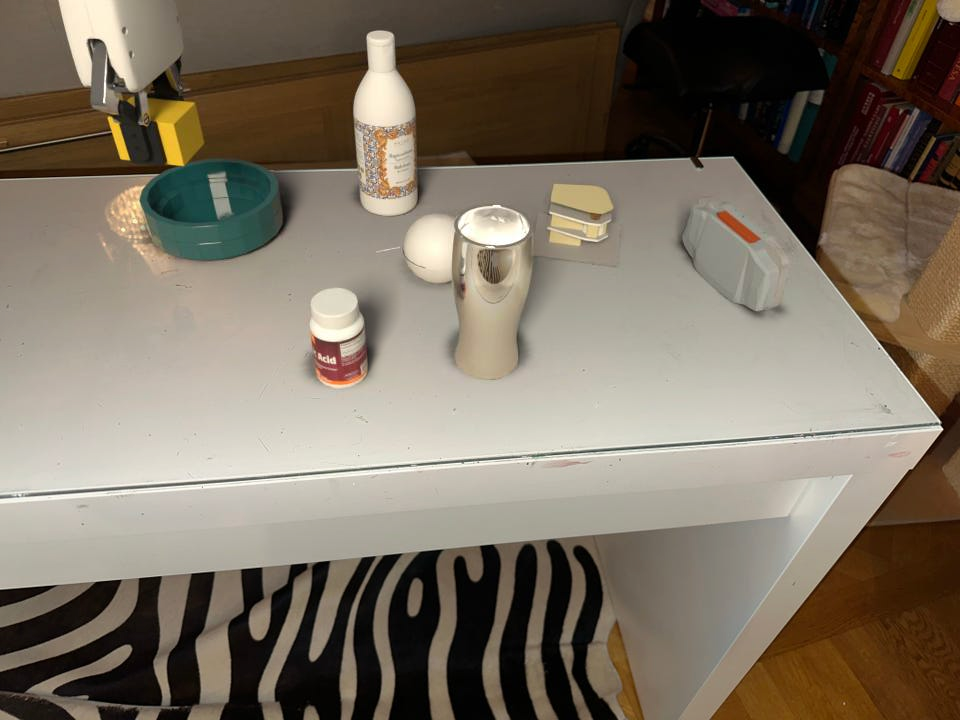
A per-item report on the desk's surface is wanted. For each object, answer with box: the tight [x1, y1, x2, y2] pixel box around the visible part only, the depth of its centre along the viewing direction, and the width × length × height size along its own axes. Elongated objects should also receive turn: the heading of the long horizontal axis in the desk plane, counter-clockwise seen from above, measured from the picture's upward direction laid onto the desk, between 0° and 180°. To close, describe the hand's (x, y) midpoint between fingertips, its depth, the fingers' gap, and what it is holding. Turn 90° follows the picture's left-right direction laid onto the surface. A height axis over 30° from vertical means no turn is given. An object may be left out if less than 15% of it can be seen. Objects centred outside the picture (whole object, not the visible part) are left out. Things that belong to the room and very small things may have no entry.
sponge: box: [107, 95, 205, 166], centre depth 67 cm, size 6×4×4 cm
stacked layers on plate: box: [533, 183, 622, 268], centre depth 85 cm, size 10×9×6 cm
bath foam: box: [352, 30, 419, 217], centre depth 85 cm, size 7×7×20 cm
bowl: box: [139, 157, 284, 262], centre depth 85 cm, size 15×15×5 cm
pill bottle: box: [308, 287, 369, 389], centre depth 67 cm, size 5×5×8 cm
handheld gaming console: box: [681, 195, 791, 312], centre depth 79 cm, size 14×3×8 cm, turn 24°
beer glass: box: [451, 203, 535, 381], centre depth 67 cm, size 7×7×15 cm
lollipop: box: [376, 212, 456, 284], centre depth 79 cm, size 10×7×7 cm
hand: (162, 147), depth 69 cm, fingers closed on sponge, 4 cm apart
